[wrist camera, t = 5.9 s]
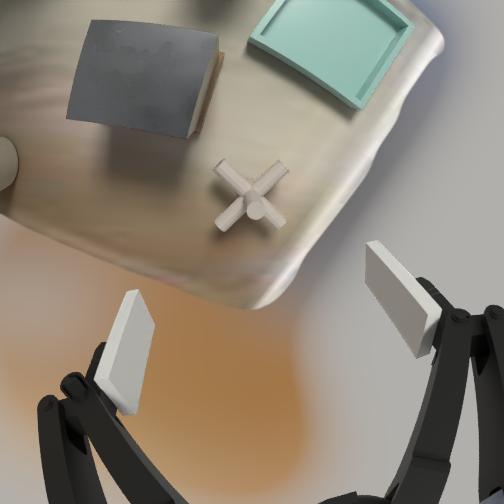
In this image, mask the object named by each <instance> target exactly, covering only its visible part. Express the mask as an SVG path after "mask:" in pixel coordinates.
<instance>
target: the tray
mask: <svg viewBox="0 0 504 504" xmlns="http://www.w3.org/2000/svg"><path fill="white" fill-rule="evenodd" d="M414 27H415V26H414V25H413V24H412V23H411V22H410V21H409V20H408V19H407V18H406V17H405V16H403V15H402V14H401V13H400V12H399V11H398V10H397V9H395V8H394V7H393V6H392V5H391V4H390V3H388V2H387V1H386V0H276V2H275V3H274V4H273V6H272V7H271V8H270V9H269V11H268V12H267V13H266V15H265V16H264V17H263V19H262V20H261V21H260V23H259V24H258V26H257V27H256V28H255V30H254V31H253V33H252V34H251V35H250V37H249V39H248V41H247V42H249V43H251V44H253V45H255V46H257V47H259V48H260V49H262V50H264V51H266V52H268V53H269V54H271V55H273V56H274V57H276V58H278V59H280V60H281V61H283V62H285V63H286V64H288V65H289V66H291V67H293V68H294V69H296V70H297V71H299V72H301V73H302V74H304V75H305V76H307V77H308V78H310V79H311V80H313V81H314V82H316V83H317V84H319V85H320V86H322V87H323V88H324V89H326V90H327V91H329V92H330V93H332V94H333V95H334V96H336V97H337V98H338V99H340V100H341V101H343V102H344V103H345V104H347V105H348V106H349V107H350V108H352V109H359V110H362V109H363V107H364V106H365V104H366V103H367V101H368V100H369V98H370V97H371V95H372V93H373V92H374V90H375V89H376V87H377V86H378V84H379V82H380V81H381V79H382V78H383V76H384V75H385V73H386V72H387V70H388V68H389V67H390V65H391V64H392V62H393V60H394V59H395V57H396V56H397V54H398V53H399V51H400V49H401V48H402V46H403V45H404V43H405V41H406V40H407V38H408V37H409V35H410V33H411V32H412V30H413V29H414Z"/></svg>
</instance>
